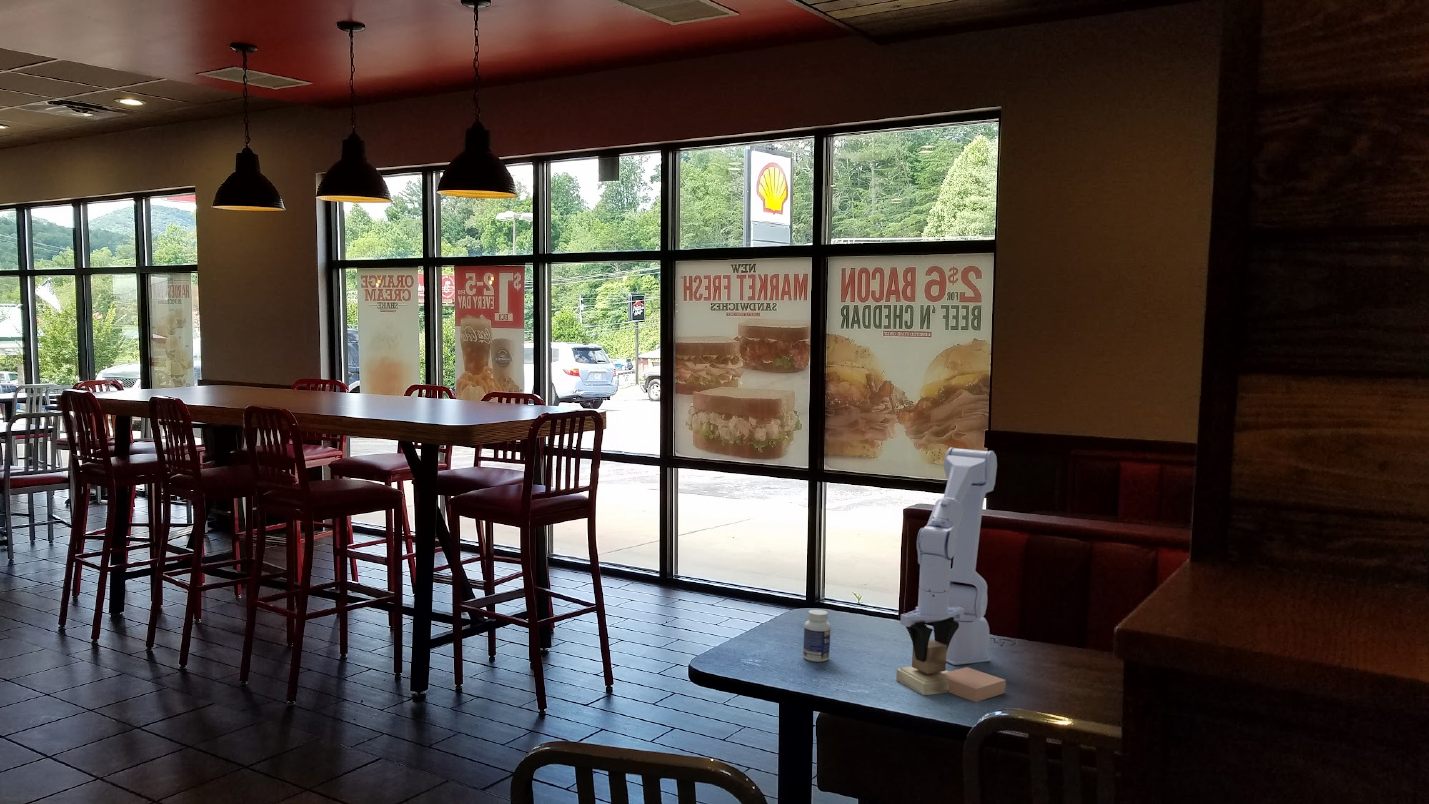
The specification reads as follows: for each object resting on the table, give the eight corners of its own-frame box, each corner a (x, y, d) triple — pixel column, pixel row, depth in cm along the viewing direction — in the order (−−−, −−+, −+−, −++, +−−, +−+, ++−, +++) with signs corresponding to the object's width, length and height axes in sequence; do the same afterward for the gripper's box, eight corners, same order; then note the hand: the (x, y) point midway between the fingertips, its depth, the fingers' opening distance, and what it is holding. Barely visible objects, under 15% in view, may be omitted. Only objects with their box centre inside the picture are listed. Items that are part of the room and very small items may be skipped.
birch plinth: (934, 675, 201) (934, 663, 201) (962, 690, 192) (963, 677, 192) (896, 679, 197) (896, 667, 197) (923, 695, 189) (924, 682, 189)
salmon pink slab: (966, 679, 199) (966, 666, 199) (1004, 692, 192) (1005, 680, 192) (936, 687, 193) (937, 675, 193) (975, 702, 186) (976, 688, 186)
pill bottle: (827, 663, 205) (830, 616, 205) (801, 661, 206) (803, 614, 206) (830, 655, 211) (832, 609, 210) (804, 653, 212) (806, 607, 211)
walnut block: (929, 663, 198) (930, 638, 198) (945, 670, 194) (946, 645, 194) (911, 666, 196) (913, 641, 195) (927, 674, 192) (929, 648, 191)
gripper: (947, 580, 201) (943, 648, 202) (891, 587, 193) (887, 657, 194) (973, 589, 195) (969, 658, 196) (916, 596, 187) (912, 668, 188)
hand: (930, 658), depth 194 cm, fingers closed on walnut block, 4 cm apart
